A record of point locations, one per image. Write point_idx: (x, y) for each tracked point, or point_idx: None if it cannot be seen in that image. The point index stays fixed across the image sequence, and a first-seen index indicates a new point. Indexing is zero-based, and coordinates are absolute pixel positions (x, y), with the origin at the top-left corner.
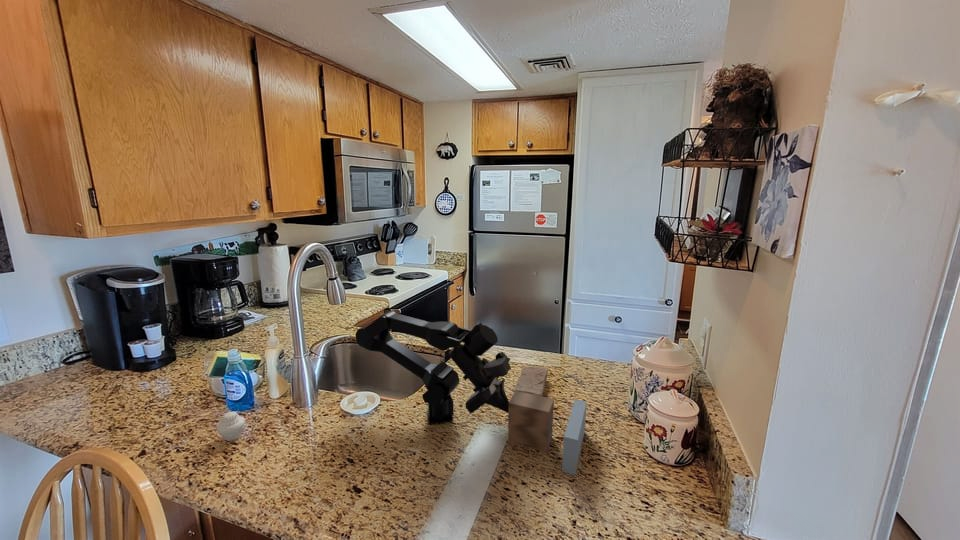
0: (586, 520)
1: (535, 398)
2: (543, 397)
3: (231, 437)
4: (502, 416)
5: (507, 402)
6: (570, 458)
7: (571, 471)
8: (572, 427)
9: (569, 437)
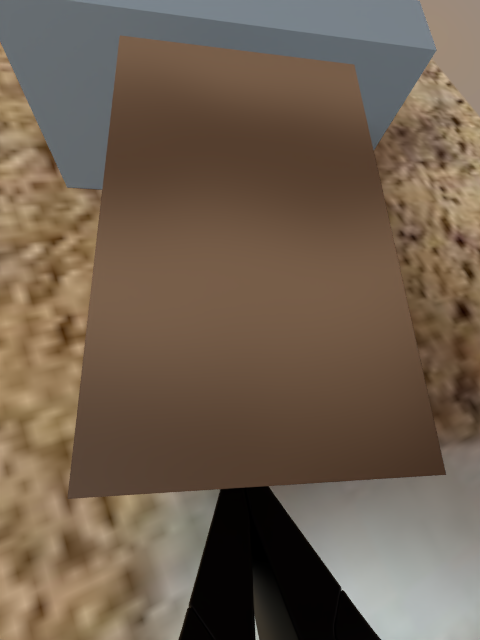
0: (468, 137)
1: (183, 185)
2: (125, 117)
3: None
4: (44, 605)
5: (248, 546)
6: None
7: None
8: (333, 14)
9: (424, 29)
